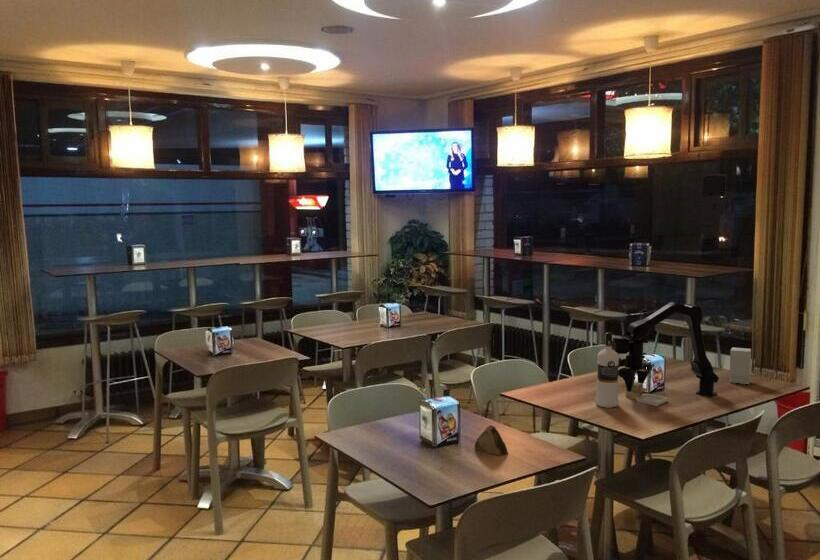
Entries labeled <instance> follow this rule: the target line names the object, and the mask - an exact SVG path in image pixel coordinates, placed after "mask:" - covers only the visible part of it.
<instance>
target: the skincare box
mask: <svg viewBox="0 0 820 560" xmlns="http://www.w3.org/2000/svg"><path fill="white" fill-rule="evenodd" d="M729 351H730V354H729V383H730V382H732V383H731V384H736V383H740V384H739V385H745V384H748V385H747V386H749V385H750V383H751V370H752V369H751V368H752V348H746V347H745V348H744V347H735V346H734V347H731V349H730V350H729Z"/></svg>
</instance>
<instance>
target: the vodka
mask: <svg viewBox="0 0 820 560" xmlns="http://www.w3.org/2000/svg"><path fill="white" fill-rule="evenodd" d="M612 341H613V333H612V332H605V341H604V343H605V344H604V348H603V349H601V350H599V352H598V353H597V376H596V377H597V378H596V393H595V397H594V403H595V405H597V407H600V408H604V407H605V409H613V407H614V408H616V407H618V406H619V403H620V402H619V401H620V400H619V394H618V384H619V381H618V380H619V375H618V370H619V368H618V364H619V363H618V361H619V358H620V357H619V355H620V354H618V353H617V352H615V351H614V350H613V349H612Z"/></svg>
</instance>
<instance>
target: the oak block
mask: <svg viewBox="0 0 820 560" xmlns="http://www.w3.org/2000/svg"><path fill="white" fill-rule="evenodd" d="M643 388H644V383H638V381H634V384H633V386H632V389H631V392H628V390H627V387H626V386H625V398H627V397H628V398H627V399H631V398H633V399H632V400H636V398H637V397H639V396H642V395H644V394H643V391H644V389H643Z"/></svg>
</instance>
